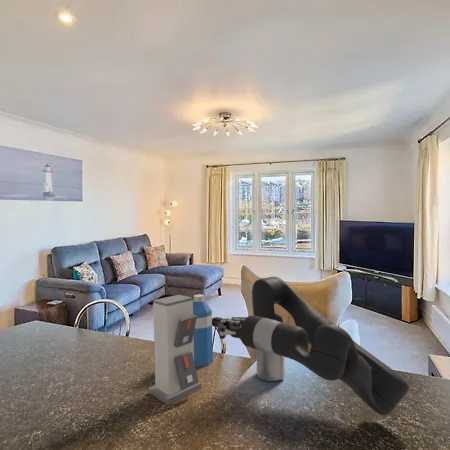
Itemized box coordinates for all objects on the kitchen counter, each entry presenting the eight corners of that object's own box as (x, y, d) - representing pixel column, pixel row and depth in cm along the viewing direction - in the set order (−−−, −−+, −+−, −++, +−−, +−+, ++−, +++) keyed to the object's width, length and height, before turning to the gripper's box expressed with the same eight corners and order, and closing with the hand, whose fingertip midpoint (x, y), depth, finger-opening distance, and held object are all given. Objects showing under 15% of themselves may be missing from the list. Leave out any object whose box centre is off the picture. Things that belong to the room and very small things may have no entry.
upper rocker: (173, 345, 99) (178, 318, 97) (189, 340, 103) (194, 314, 101) (176, 348, 98) (181, 321, 96) (192, 342, 102) (197, 316, 100)
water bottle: (214, 356, 129) (213, 292, 129) (211, 367, 120) (209, 298, 120) (190, 356, 130) (189, 292, 130) (185, 366, 121) (184, 298, 121)
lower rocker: (180, 389, 97) (174, 358, 99) (196, 382, 102) (189, 352, 103) (183, 390, 96) (177, 358, 98) (199, 382, 101) (192, 352, 102)
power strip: (148, 392, 103) (146, 300, 103) (181, 378, 112) (179, 293, 112) (167, 404, 96) (165, 305, 96) (201, 387, 105) (199, 297, 105)
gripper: (246, 358, 74) (195, 341, 86) (280, 342, 83) (230, 328, 95) (245, 325, 74) (194, 312, 86) (279, 312, 83) (229, 302, 95)
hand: (213, 321), depth 91 cm, fingers closed
